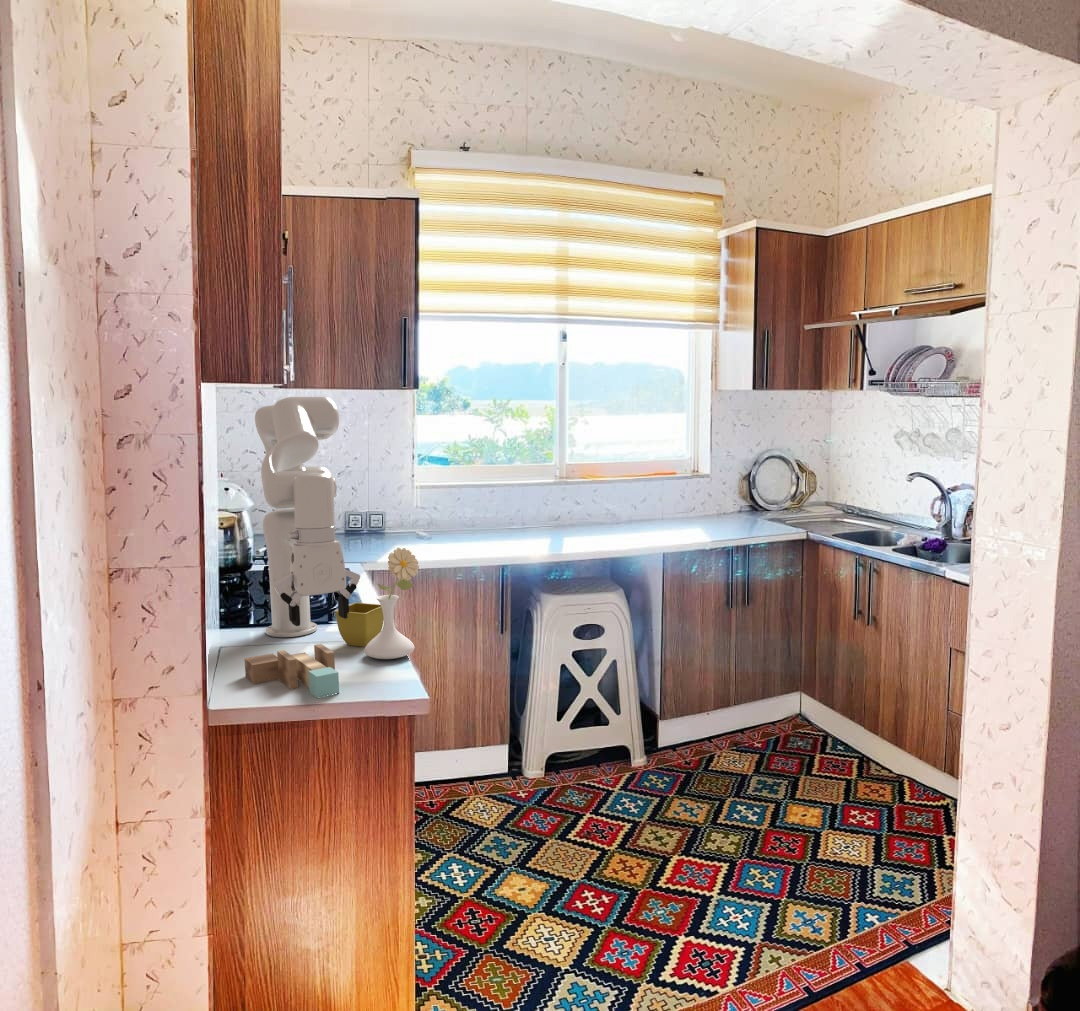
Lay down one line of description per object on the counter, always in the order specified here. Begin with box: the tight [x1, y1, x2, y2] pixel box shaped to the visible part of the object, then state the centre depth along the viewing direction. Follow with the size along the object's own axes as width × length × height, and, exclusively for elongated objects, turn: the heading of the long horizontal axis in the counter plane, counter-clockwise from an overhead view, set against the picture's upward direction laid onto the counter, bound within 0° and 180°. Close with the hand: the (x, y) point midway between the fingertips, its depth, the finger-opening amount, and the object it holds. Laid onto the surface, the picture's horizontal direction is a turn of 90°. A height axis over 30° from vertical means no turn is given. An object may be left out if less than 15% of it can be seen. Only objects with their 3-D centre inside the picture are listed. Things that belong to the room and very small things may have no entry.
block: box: [308, 667, 340, 698], centre depth 171 cm, size 4×4×4 cm
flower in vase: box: [364, 547, 420, 660], centre depth 195 cm, size 13×11×25 cm
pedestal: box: [244, 653, 279, 685], centre depth 182 cm, size 6×6×4 cm
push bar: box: [291, 652, 327, 688], centre depth 179 cm, size 14×3×4 cm, turn 34°
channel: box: [276, 643, 336, 690], centre depth 180 cm, size 8×10×6 cm
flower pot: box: [334, 602, 384, 648], centre depth 206 cm, size 9×9×9 cm
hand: (319, 621), depth 170 cm, fingers open, 9 cm apart
